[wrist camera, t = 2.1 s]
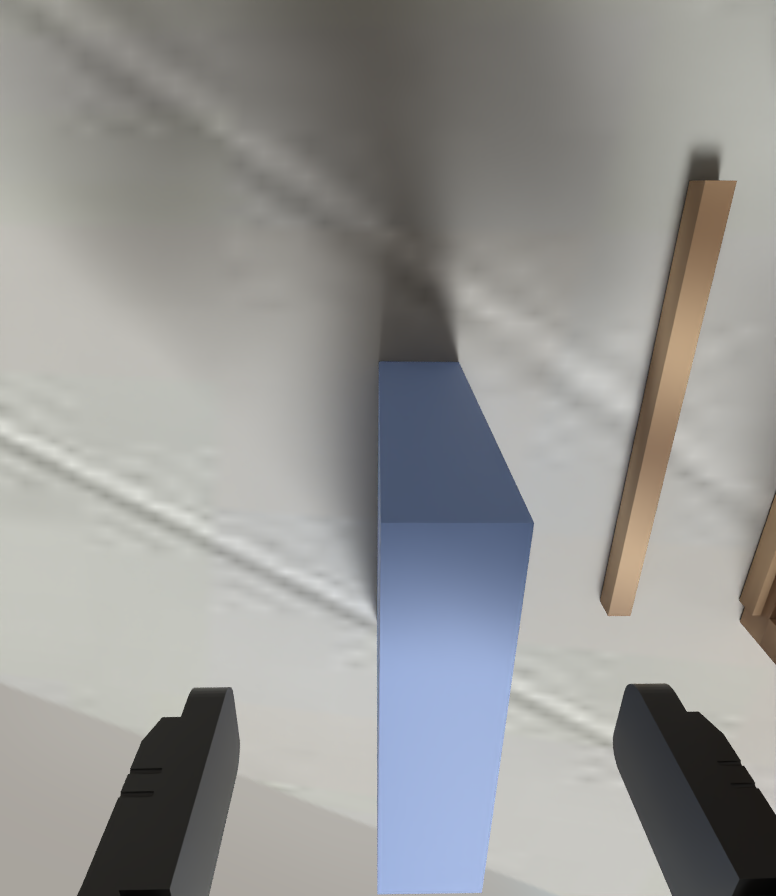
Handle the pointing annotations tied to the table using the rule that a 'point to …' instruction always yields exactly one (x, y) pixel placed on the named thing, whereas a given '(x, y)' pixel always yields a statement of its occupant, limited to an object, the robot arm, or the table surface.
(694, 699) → the table surface
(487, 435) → the blue rectangular block
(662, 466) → the cabinet
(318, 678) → the table surface
